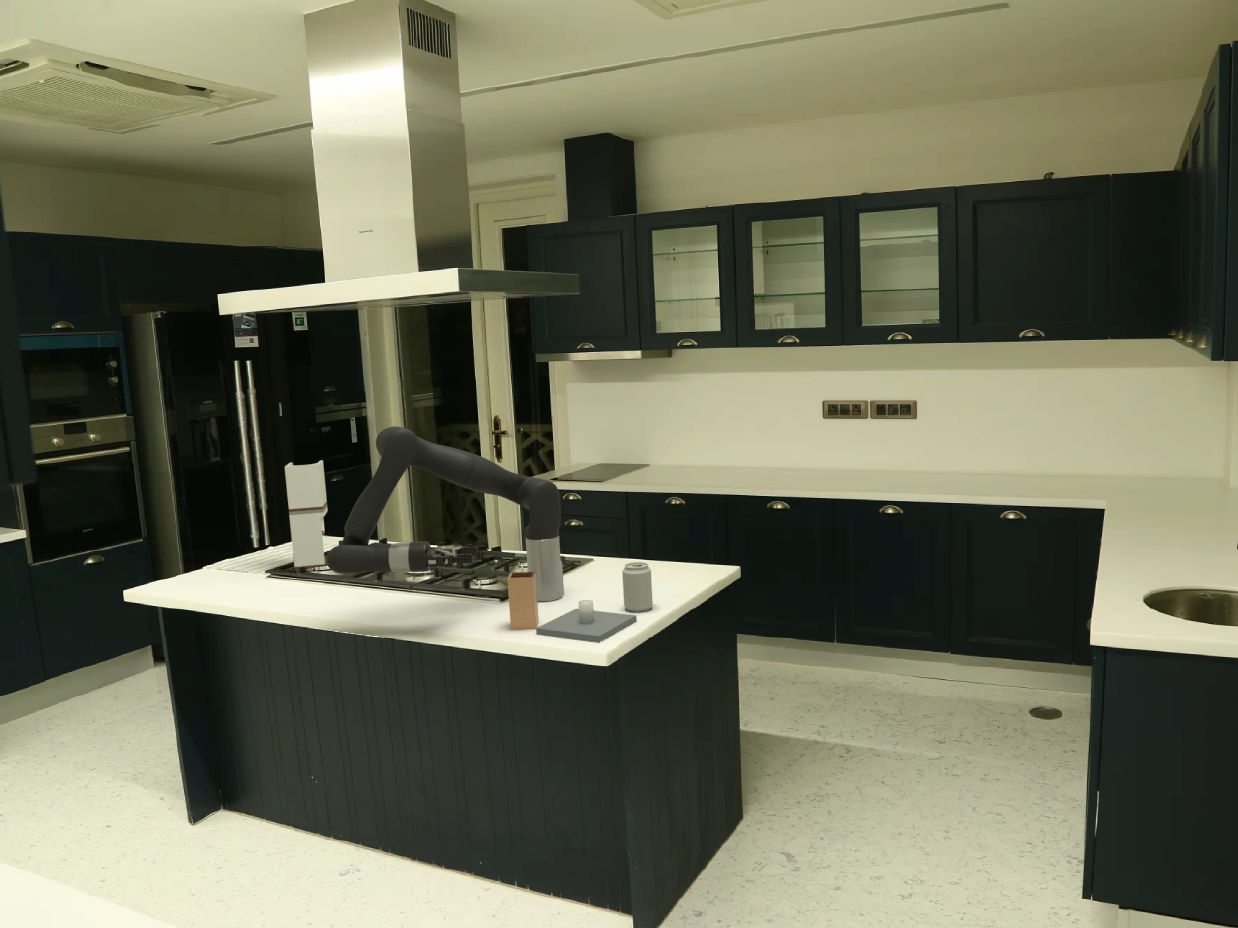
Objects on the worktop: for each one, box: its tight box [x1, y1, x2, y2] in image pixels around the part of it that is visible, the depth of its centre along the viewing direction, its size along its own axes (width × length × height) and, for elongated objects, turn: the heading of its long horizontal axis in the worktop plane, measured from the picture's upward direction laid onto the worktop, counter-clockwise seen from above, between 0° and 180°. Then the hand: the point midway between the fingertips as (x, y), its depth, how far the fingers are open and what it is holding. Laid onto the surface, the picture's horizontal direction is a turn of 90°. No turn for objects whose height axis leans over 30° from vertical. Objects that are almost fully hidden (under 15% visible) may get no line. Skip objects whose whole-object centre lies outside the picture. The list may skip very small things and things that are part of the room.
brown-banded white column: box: [284, 460, 329, 570], centre depth 322 cm, size 11×11×35 cm
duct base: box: [535, 599, 637, 643], centre depth 240 cm, size 18×18×6 cm
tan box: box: [507, 571, 540, 631], centre depth 244 cm, size 6×6×13 cm
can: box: [621, 561, 654, 613], centre depth 254 cm, size 8×8×12 cm
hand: (474, 554), depth 243 cm, fingers open, 8 cm apart
